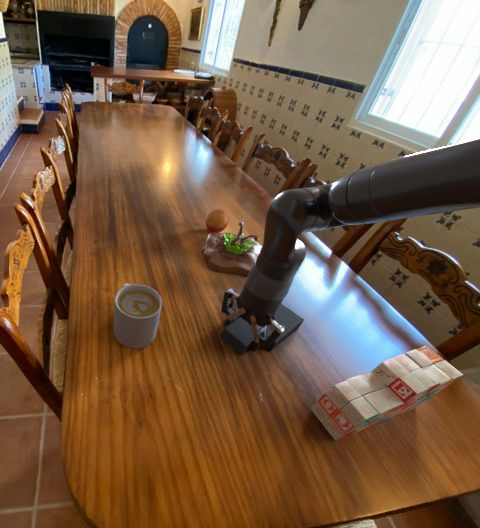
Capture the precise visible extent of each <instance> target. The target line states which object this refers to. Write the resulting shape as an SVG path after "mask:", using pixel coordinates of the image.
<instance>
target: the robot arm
mask: <svg viewBox="0 0 480 528" xmlns="http://www.w3.org/2000/svg"><path fill="white" fill-rule="evenodd" d="M478 208H479V209H480V138H475V139H472V140H468V141H465V142H464V141H463V142H460V143H456V144H455V143H454V144H451V145H447V146H442V147H438V148H433V149H427V150H425V151H424V150H423V151H420V152H415V153H413V154H409V155H404V156H401V157H398V158H393V159H390V160H386V161H383V162H380V163H378V164H374V165H372V166H367V167H365V168H361V169H358V170H356V171H352V172H350V173H348V174H345V175H343V176H341V177H339V178H338V179H337V180H336V181H333V182H330V183H326V184H321V185H317V186H308V187H300V188H291V189H285V190H283V191H281V192H280V193H277V195H276V196H275V197H274V198H273V199H272V200H271V202H270V203H269V205H268V207H267V210H266V214H265V220H264V221H265V222H264V230H263V241H262V245H261V246H262V248H261V250H260V252H259V255H258V257H257V259H256V261H255V263H254V265H253V266H252V268H251V270H250V272H249V274H248V276H246V279H245V281H244V283H243V285H242V288H241V291H240V293H238V292H237V289H236V288H235V287H232V288H230V289H228V290H226V291H225V292H224V294H223V299H222V303H221V309H220V311H221V313H223V314H225V316H226V319H225V322H224V324H223V327H224V328H225V327H226V326H228V325H229V324H231V323H232V322H234V321H235V320H236V319H237V317H238V316H241V318H242V319H243V320H245V321H247V322H248V323H249V324H250V325H251V326H252V333H254V339H253V340H252V343H251V345H250V347H249V348H248V352H250V353H251V352H256V351H257V350H259V349H260V346H262V345H263V346H264V347H265V348H267V347H269V346H270V345H271V344H272V343H274V342H275V341H276V340H277V339H278V338H279V337H280V336H281V335H282V334H283V333H284V332H285V331H286V330H287V328H286V327H285V326H284V325H281V326H280V325H279V324H278V323H277V322H275V321H274V320H275V313H276V311H277V310H278V308H279V306H280V304H283V301H284V299H285V297H286V296H287V295H288V293H289V292H290V288H291V287H292V285H293V282H294V279H295V278H296V277H295V276H296V275H297V273H298V271H299V269H300V268H301V266H302V265H303V263H304V261H305V259H306V256H307V248H306V246H305V243H303V242H302V241H301V240H299V237H300V236H301V235H302V234H306V233H312V232H317V231H323V230H330V229H334V228H339V227H344V226H360V225H369V224H370V225H371V224H377V223H383V222H389V221H390V222H391V221H398V220H404V219H411V218H417V217H424V216H431V215H436V214H443V213H450V212H458V211H465V210H473V209H478ZM234 302H235V303H236V305H237V307H238V309H237V310H235V311H233V309H232V308H233V307H234ZM267 325H270V326H271V329H270V333H271V335H270V336H269V337H266V329H267ZM261 344H262V345H261ZM263 346H262V347H263ZM264 347H263V348H264ZM265 348H264V349H265Z"/></svg>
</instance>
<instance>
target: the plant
mask: <svg viewBox="0 0 480 528" xmlns="http://www.w3.org/2000/svg"><path fill="white" fill-rule="evenodd" d="M237 225H238V226H239V230H238V233H233V232H228V231H227V232H219V233H212V232H209V234H208V235H207V238H206V240H205V244H204V246H203V247H202V248H201V252H200V253H201V254H202V259H203V260H204V262H207V263H208V264H207V266H208V267H209V269H211V270H214V271H215V272H218V273H223V274H235V275H241V276H245V277H247V276H248V274H249V272H250V270H251V268H252V266H253V265H254V263H255V261H256V259H257V257H258V255H259V252H260V250H261V248H262V246H263V245H261V243H260V237H259V236H258V235H256V234H255V235H254V234H248V235H246V236H245V235H244V233H243V229H244V228H243V226H244V221H239V222H238V224H237ZM253 238H254V239H253Z"/></svg>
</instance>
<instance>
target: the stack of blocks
mask: <svg viewBox="0 0 480 528" xmlns="http://www.w3.org/2000/svg"><path fill="white" fill-rule="evenodd" d="M463 376H464V374H463V373H462V372H460V371H459V370H458V369H457V368H455V367H454V366H453V365H452V364H451V363H449V362H448V361H447V360H445V359H444V358H442V356H440V355H439V354H438V353H436V352H435V351H434V350H432V348H430V347H428V346H427V345H423V346H422V347H421V346H420V347H419V348H414V349H412V350H409V351H407V352H405V353H401V354H397V355H396V356H393V357H391V358H389V359H385V360H383V361H381V362H380V363H379V364H378V365H377V366H375V368H373V369H372V370H371V371H369V372H366V373H363V374H360V375H359V374H358V375H356V376H352V377H350V378H347V379H345V380H344V381H341V382H338V383H335V384H333V386H332V387H330V389H329V390H327V392H325V393H323V395H322V396H320V398H318V399H317V401H315V403H314V404H313V405H311V407H310V410H311V412H312V413H313V414H314V415H315V417H316V418H317V419H318V421H319V422H320V423H321V424H322V426H323V427H324V428H325V430H326V431H327V432H328V434H329V435H330V436H331V437H332V438H333V440H334V441H339V440H341V439H343V438H346V437H348V436H351V435H355V434H357V433H360V432H361V431H364V430H366V429H369V428H371V427H373V426H375V425H377V424H379V423H382V422H384V421H386V420H389V419H391V418H393V417H397V416H400V415H402V414H404V413H407V412H409V411H412V410H414V409H416V408H419V406H421V405H422V404H424V403H425V402H427V401H428V400H429V399H430V398H432V397H433V396H435V395H436V394H438V393H439V392H442V390H444V389H446V388H447V387H448V386H450V385H451V384H453V383H454V382H456V381H457V380H458V379H460V378H461V377H463Z"/></svg>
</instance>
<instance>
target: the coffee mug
mask: <svg viewBox="0 0 480 528" xmlns="http://www.w3.org/2000/svg"><path fill="white" fill-rule="evenodd" d="M162 300H163V299H162V297H161V295H160V293H159V292H158V291H157V290H155V289H154V288H153V287H151V286H148V285H145V284H141V283H133V284H130V283H124V284H122V286H121V288H120V289H119V290H118V291H117V292H116V293H115V297H114V308H113V309H114V311H113V328H112V329H113V330H112V331H113V336H114V337H115V339H116V340H117V341H118V342H119V343H120V345H122V346H125V347H127V348H129V349H142V348H146V347H148V346H150V345H151V344H152V343H153V342H154V341H155V339H156V336H157V332H158V327H159V322H160V317H161V312H162V307H163V301H162Z"/></svg>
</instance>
